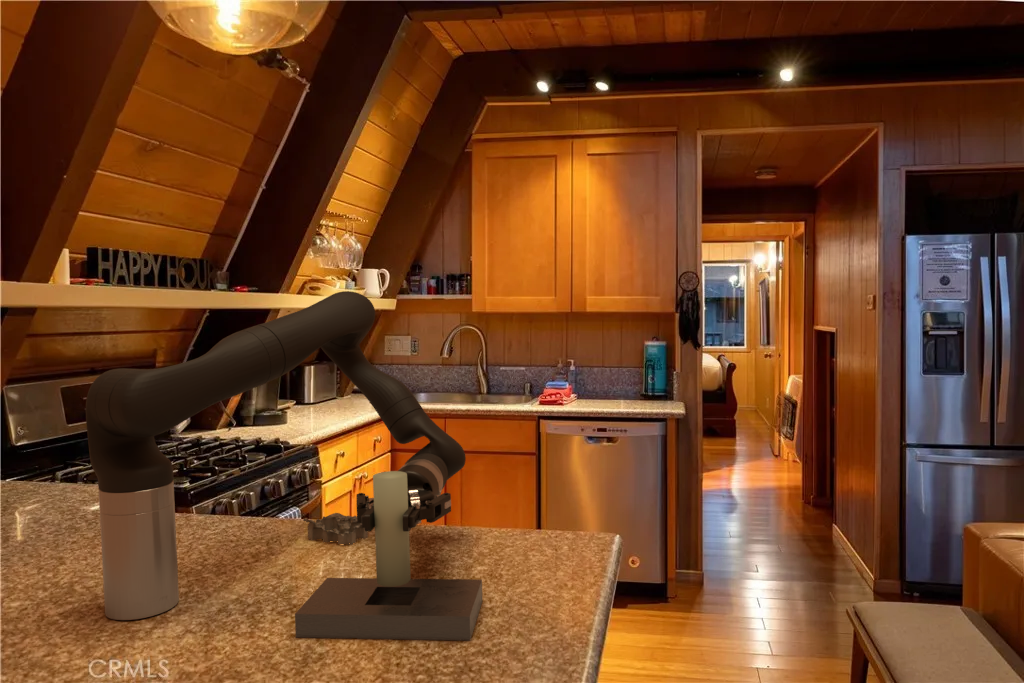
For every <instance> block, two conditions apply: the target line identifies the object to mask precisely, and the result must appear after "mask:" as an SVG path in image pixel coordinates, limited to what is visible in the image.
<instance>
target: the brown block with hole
mask: <svg viewBox="0 0 1024 683" xmlns="http://www.w3.org/2000/svg"><path fill="white" fill-rule="evenodd" d="M483 601H484V600H483V579H472V578H471V579H470V578H469V579H468V578H467V579H465V578H464V579H463V578H460V579H459V578H458V579H456V578H454V579H453V578H452V579H451V578H449V579H448V578H447V579H445V578H411V580H410V581H409V582H408V583H406V584H403V585H400V586H393V587H387V586H381V585H379V584H378V583H377V577H376V578H372V577H370V578H369V577H368V578H367V577H366V578H365V577H364V578H363V577H362V578H361V577H326V579H325V580H324V581H323V582H322V583H321V584H319V587H317V589H316V590H315V591H313V593H312V594H311V596H309V598H308V599H307V600H306V601H304V603H303V604H302V605H301V607H300V608H299V609H298V610H297V611H296V612H295V613H294V622H295V623H294V626H295V630H294V631H295V638H298V639H299V638H301V639H303V638H304V639H305V638H306V639H307V638H308V639H352V638H357V640H360V639H361V640H362V639H363V640H364V639H365V640H405V641H406V640H413V641H414V640H415V641H416V640H417V641H418V640H419V641H420V640H421V641H462V642H463V641H466V642H467V641H471V640H472V636H473V634H474V629H475V627H476V625H477V624H476V623H477V620H478V618H479V613H480V610H481V607H482V604H483Z"/></svg>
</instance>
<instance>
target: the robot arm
mask: <svg viewBox="0 0 1024 683" xmlns="http://www.w3.org/2000/svg"><path fill="white" fill-rule="evenodd" d="M375 320H376V310H375V306H374V304H373V303H372V301H371V300H370V299H369V298H368V297H367V296H365V295H363V294H361V293H360V292H356V291H355V292H354V291H348V290H344V291H339V292H338V291H337V292H335V293H333V294H330V295H328V296H327V297H325V298H323V299H321V300H319V301H318V302H315V303H313V304H311V305H310V306H307V307H306V308H305V307H304V308H303V309H299V310H297V311H294V312H292V313H288V314H286V315H283V316H280V317H278V318H274V319H272V320H269V321H267V322H263V323H259V324H257V325H253V326H250V327H247V328H244V329H242V330H238V331H236V332H234V333H232V334H229V335H228V336H226V337H224V338H222V339H221V340H219V341H218V342H217V343H216V344H215V345H214V346H212V348H210V349H209V350H208V351H207V352H206V353H204V354H203V355H201V356H199V357H196V358H194V359H191V360H188V361H184V362H181V363H177V364H174V365H169V366H165V367H159V368H153V369H151V368H150V369H148V368H147V369H145V368H127V367H125V368H113V369H109V370H106V371H105V372H102V373H100V375H98V376H97V377H96V378H95V379H94V381H93V382H92V383H91V385H90V387H89V389H88V392H87V396H86V400H85V421H86V422H85V423H86V425H85V426H86V432H87V441H88V444H87V445H88V452H89V460H90V464H91V467H92V470H93V471H94V474H95V476H96V478H97V485H98V486H97V487H98V505H99V519H100V520H99V521H100V539H101V540H100V541H101V542H100V543H101V560H102V561H101V562H102V564H101V565H102V579H103V580H102V581H103V601H104V605H103V606H104V615H105V617H106V618H108V619H111V620H115V621H116V620H117V621H132V620H139V619H145V618H149V617H153V616H156V615H159V614H163V613H164V612H167V611H169V610H171V609H172V608H174V607H176V606H177V605H178V603H179V602H180V601H179V600H180V594H179V593H180V591H179V574H178V573H179V572H178V570H179V568H178V544H177V530H176V529H177V528H176V527H177V526H176V524H177V523H176V510H175V509H176V506H175V505H176V504H175V487H174V486H175V484H174V467H173V466H174V465H173V463H172V461H171V460H170V459H169V458H168V457H167V456H166V455H164V453H163V452H162V451H161V449H159V447H158V446H157V443H156V439H155V436H158V435H161V434H163V433H165V432H168V431H170V430H172V429H173V428H175V427H177V426H178V425H180V424H182V423H183V422H185V421H187V420H188V419H190V418H191V417H194V416H196V415H197V414H198V413H201V412H202V411H204V410H205V409H208V408H209V407H211V406H213V405H215V404H217V403H219V402H220V403H221V402H222V401H225V400H228V399H230V398H233V397H236V396H238V395H240V394H243V393H245V392H248V391H250V390H252V389H255V388H258V387H260V386H263V385H265V384H267V383H270V382H272V381H274V380H277V379H279V378H280V377H282V376H284V375H286V374H287V373H289V372H290V371H292V370H294V369H295V368H297V367H298V366H299V365H301V364H302V363H303V362H304V361H306V360H307V359H308V358H309V357H310V356H311V355H313V354H314V353H315V352H316V351H317V350H319V349H321V350H322V352H324V354H325V355H326V356H327V357H328V358H329V359H330V360H331V362H333V363H334V364H335V365H336V367H337V368H338V369H339V370H340V371H341V372H342V373H343V374H344V375H345V376H346V378H347V379H348V380H350V381H351V383H352V384H353V385H354V386H355V387H356V388H357V389H358V390H359V392H361V393H362V394H363V396H364V397H365V398H366V399H367V401H368V402H369V403H370V404H371V406H372V407H373V409H374V410H375V411H376V413H377V414H378V415H377V416H379V418H380V419H381V421H382V422H383V424H384V425H385V426H386V429H387V430H388V432H389V433H390V434H391V436H392V437H393V439H394V440H395V441H396V442H397V443H399V444H401V445H406V444H409V443H412V442H414V441H416V440H417V439H420V438H422V437H425V438H426V439H428V440H429V443H427V444H426V445H424V446H423V447H422V448H420V449H419V450H418V451H416V452H415V453H414V454H413V455H412V456H411V457H410V458H408V459H407V460H406V462H404V465H402V466H401V467H400V468H399V469H398V470H397V471H400V472H405V473H407V488H408V509H407V510H406V512H405V513H404V514H403V531H404V532H409V533H410V531H411V529H414V528H416V527H417V526H418V525H419V524H422V521H423V520H426V523H428V524H429V523H430V524H432V523H435V522H436V521H438V520H440V519H441V518H443V517H445V516H446V515H447V514H449V513H451V512H452V496H451V493H450V492H444V493H442V492H443V490H444V488H445V486H446V484H447V481H448V480H450V479H451V478H452V477H453V476H454V475H456V474H457V473H459V471H461V470H462V469H463V468H464V467H465V465H466V459H467V457H466V453H465V449H464V448H463V446H462V445H461V444H460V443H459V442H458V441H457V440H456V439H454V438H453V437H452V436H451V435H449V434H448V433H447V432H446V431H444V430H443V428H441V427H440V426H439V425H437V424H436V423H435V422H434V421H433V420H432V419H431V418H430V416H429V415H428V414H427V412H425V410H424V408H423V407H422V405H421V404H420V403H419V401H418V399H417V398H416V396H415V395H414V394H413V393H412V391H411V390H410V389H409V387H408V386H407V385H405V383H403V382H402V381H400V380H399V379H398V378H396V377H394V376H392V375H390V374H387V373H386V372H384V371H382V370H380V369H378V368H377V367H376V366H374V365H373V364H372V363H371V362H370V361H369V360H368V359H367V357H366V356H365V354H364V352H363V351H362V348H361V346H360V345H361V343H362V341H363V340H364V338H366V336H367V335H368V333H369V331H371V329H372V327H373V325H374V323H375ZM441 493H442V494H441ZM356 516H357V522H360V523H362V528H365V531H368V532H372V531H373V530H374V529H375V518H374V497H370V496H369V495H368V494H366V493H364V492H359V493H357V494H356Z"/></svg>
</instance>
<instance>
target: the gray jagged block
mask: <svg viewBox="0 0 1024 683" xmlns="http://www.w3.org/2000/svg"><path fill="white" fill-rule="evenodd" d="M303 522H305V523H307V538H308V541H312V542H314V541H318V540H317V539H323V540H322V543H324V542H330V541H338V542H337V543H338V544H348V545H354V544H353V543H355V542H356V543H357V540H361V539H362V538H363V540H365V539H366V538H369V533H368V532H369V531H365V528H362V523H360V522H357V515H354V516H352V515H344V514H342V513H340V512H335V513H331V514H329V515H327V516H322V518H321V519H319V518H317V519H316V520H315V521H314V520H312V519H309V518H307V517H304V518H303ZM332 529H333V530H332ZM359 538H361V539H359ZM330 543H331V542H330ZM349 543H350V544H349ZM356 543H355V544H356ZM338 544H337V545H338Z"/></svg>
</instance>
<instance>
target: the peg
mask: <svg viewBox="0 0 1024 683" xmlns="http://www.w3.org/2000/svg"><path fill="white" fill-rule="evenodd" d="M372 488H373V498H374V518H375V527H374V540H375V564H376V565H375V567H376V578H377V583H378V584H379V585H381V586H387V587H393V586H400V585H403V584H406V583H408V582H409V581H410V580H411V579H412V578H411V576H412V575H411V554H410V553H411V552H410V551H411V549H410V531H409V532H404V531H403V514H404V513H405V512H406V510H407V509H408V488H407V473H405V472H400V471H398V470H389V471H382V472H381V471H380V472H377V473H375V474H373V475H372Z"/></svg>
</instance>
